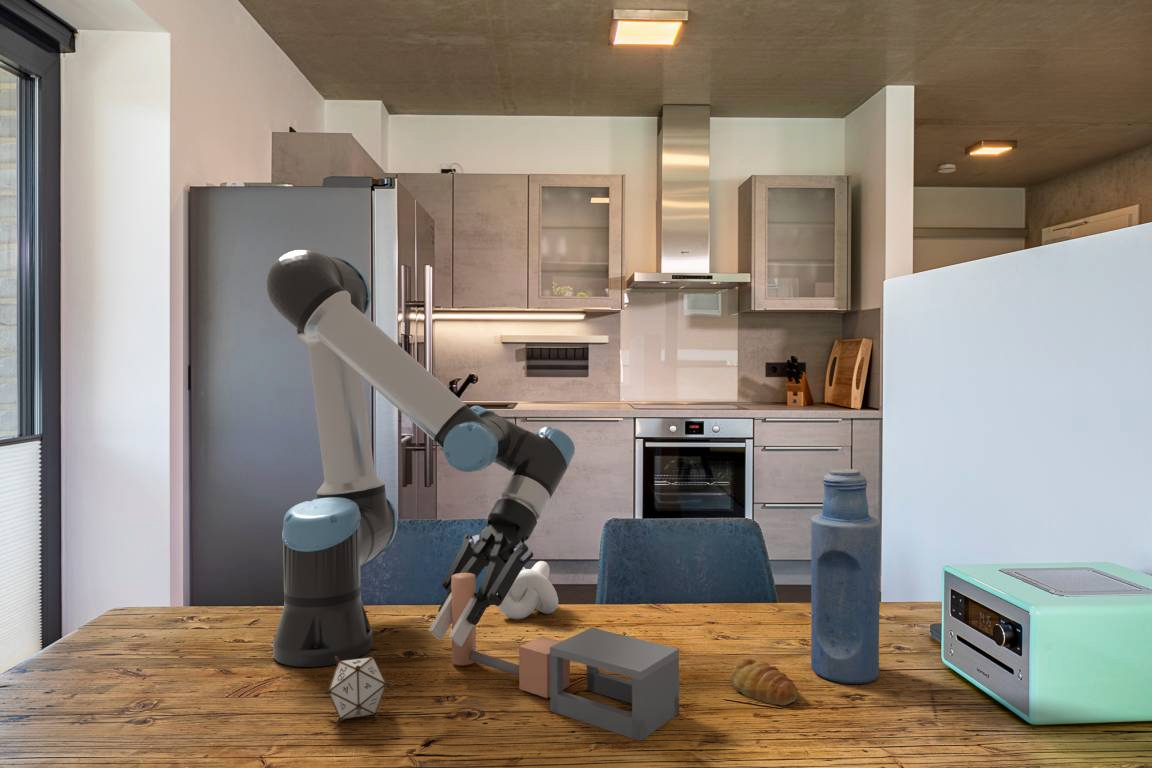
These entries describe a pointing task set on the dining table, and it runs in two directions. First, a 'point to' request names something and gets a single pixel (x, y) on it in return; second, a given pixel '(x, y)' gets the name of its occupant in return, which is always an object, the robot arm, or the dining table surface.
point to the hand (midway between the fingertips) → (445, 638)
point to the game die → (356, 687)
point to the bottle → (845, 582)
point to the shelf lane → (618, 681)
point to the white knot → (530, 593)
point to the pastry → (763, 682)
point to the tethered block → (530, 666)
